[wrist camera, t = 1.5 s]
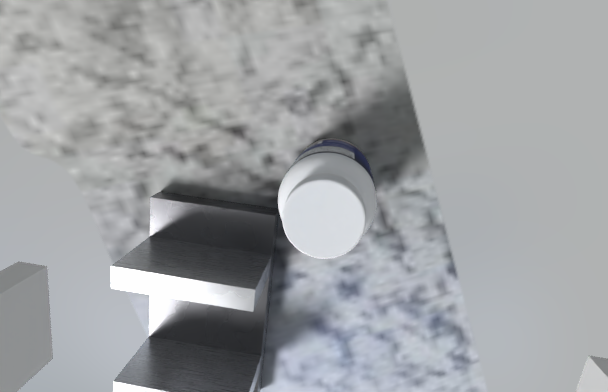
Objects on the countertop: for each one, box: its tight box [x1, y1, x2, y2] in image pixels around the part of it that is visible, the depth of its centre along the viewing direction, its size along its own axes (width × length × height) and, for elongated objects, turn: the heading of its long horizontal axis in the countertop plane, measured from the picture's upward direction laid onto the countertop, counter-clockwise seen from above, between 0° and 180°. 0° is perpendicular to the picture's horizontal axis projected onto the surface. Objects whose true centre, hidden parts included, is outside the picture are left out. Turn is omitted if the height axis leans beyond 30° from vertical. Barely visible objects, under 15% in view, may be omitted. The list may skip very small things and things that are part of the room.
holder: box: [111, 192, 279, 392], centre depth 29 cm, size 16×9×6 cm, turn 173°
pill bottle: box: [278, 139, 377, 259], centre depth 24 cm, size 5×5×10 cm
